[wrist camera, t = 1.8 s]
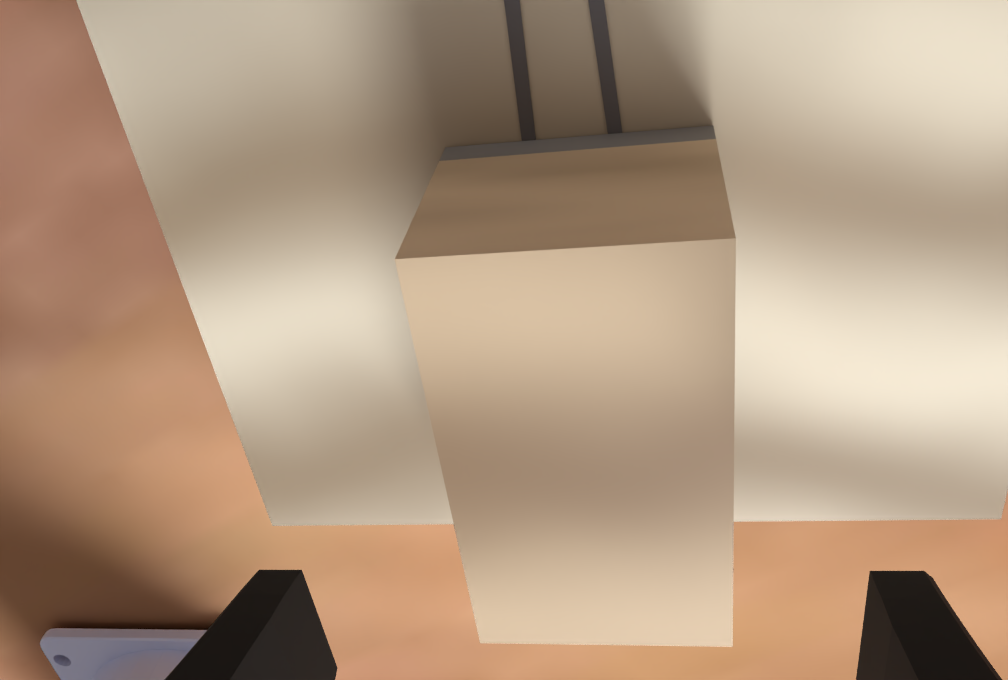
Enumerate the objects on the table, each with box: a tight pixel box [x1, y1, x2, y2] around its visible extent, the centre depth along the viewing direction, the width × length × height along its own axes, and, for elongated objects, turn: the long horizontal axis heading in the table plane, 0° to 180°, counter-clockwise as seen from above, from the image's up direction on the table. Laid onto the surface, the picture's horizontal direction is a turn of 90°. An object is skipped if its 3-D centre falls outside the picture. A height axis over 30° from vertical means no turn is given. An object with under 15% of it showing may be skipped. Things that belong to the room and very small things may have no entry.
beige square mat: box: [76, 0, 1008, 526], centre depth 16 cm, size 16×16×1 cm
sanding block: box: [395, 125, 736, 647], centre depth 16 cm, size 8×4×4 cm, turn 8°
